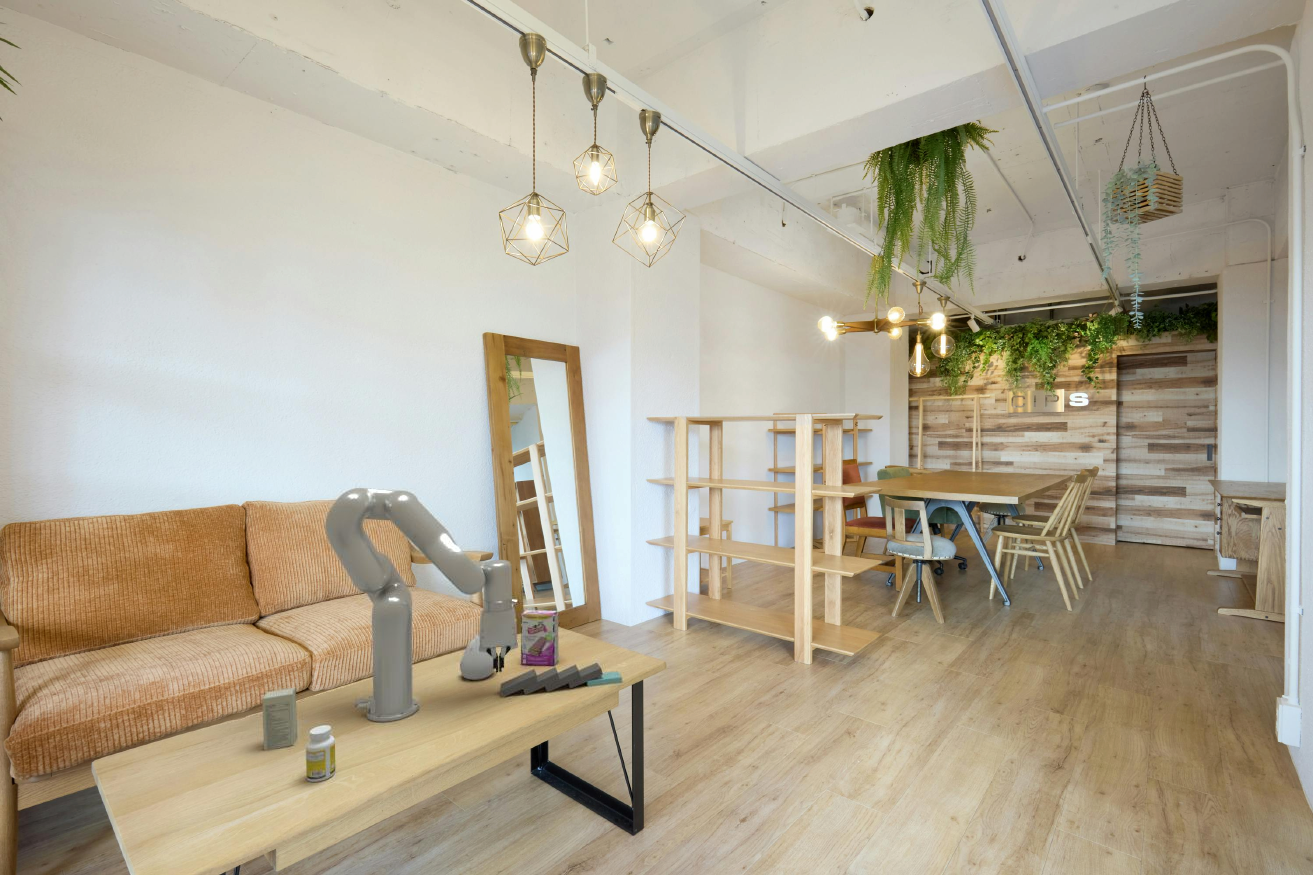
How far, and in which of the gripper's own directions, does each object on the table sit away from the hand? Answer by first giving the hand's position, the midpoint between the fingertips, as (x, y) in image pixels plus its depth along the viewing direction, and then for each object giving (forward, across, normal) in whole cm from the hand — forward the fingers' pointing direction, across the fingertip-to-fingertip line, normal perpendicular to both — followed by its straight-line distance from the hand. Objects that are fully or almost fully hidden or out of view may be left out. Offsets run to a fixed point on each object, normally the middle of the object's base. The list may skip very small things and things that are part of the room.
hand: (498, 670), depth 168 cm
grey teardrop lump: (+7, +6, -16) cm, 18 cm away
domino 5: (+6, -25, 0) cm, 25 cm away
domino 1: (+6, -1, 0) cm, 6 cm away
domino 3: (+6, -13, 0) cm, 14 cm away
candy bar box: (+7, -13, -21) cm, 26 cm away
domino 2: (+6, -7, 0) cm, 9 cm away
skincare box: (+7, +50, +14) cm, 52 cm away
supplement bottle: (+7, +37, +32) cm, 49 cm away
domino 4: (+6, -19, 0) cm, 20 cm away
